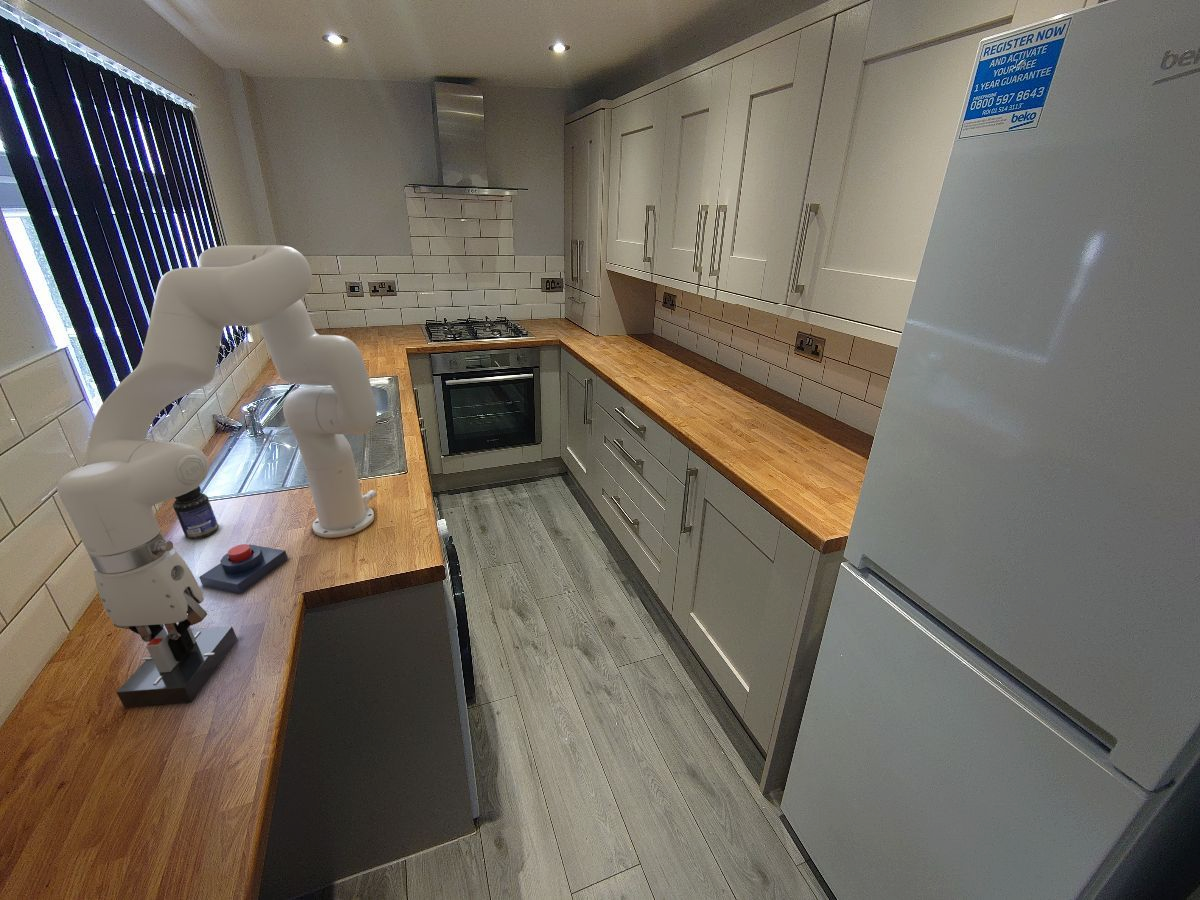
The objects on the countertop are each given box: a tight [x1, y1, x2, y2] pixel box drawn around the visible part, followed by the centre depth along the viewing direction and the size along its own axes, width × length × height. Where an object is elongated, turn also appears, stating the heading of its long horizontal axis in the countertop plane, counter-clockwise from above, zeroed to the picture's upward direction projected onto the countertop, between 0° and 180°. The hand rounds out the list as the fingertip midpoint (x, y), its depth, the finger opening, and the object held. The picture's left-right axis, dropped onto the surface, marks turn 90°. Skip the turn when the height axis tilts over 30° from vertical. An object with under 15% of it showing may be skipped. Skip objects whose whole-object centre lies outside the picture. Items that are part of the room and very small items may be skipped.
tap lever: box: [145, 623, 196, 673], centre depth 77 cm, size 6×2×5 cm, turn 5°
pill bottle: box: [172, 485, 220, 540], centre depth 113 cm, size 6×6×11 cm
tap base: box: [116, 625, 238, 709], centre depth 79 cm, size 12×10×3 cm
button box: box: [198, 543, 289, 595], centre depth 101 cm, size 11×9×4 cm
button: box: [227, 543, 252, 562], centre depth 100 cm, size 4×4×2 cm
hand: (177, 654), depth 78 cm, fingers closed on tap lever
